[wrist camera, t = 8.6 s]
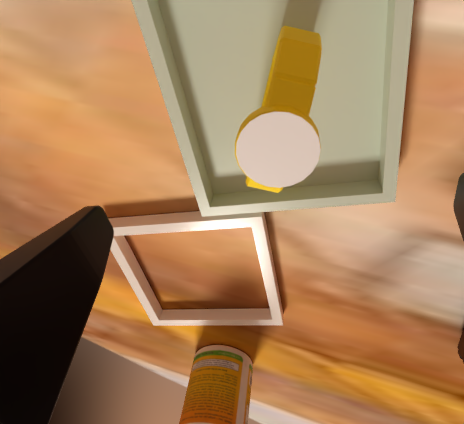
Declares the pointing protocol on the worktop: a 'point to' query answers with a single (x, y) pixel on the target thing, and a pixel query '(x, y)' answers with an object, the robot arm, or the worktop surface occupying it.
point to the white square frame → (195, 223)
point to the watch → (283, 117)
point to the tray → (254, 84)
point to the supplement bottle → (218, 387)
